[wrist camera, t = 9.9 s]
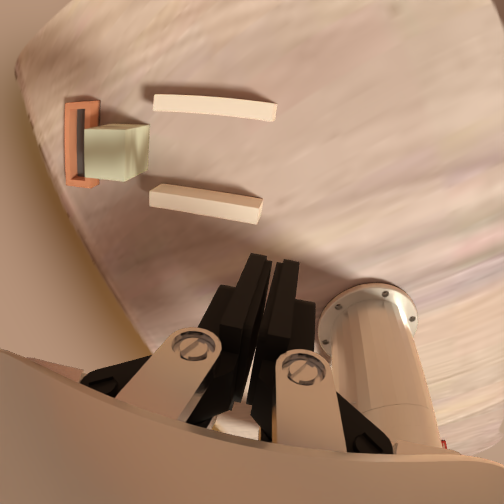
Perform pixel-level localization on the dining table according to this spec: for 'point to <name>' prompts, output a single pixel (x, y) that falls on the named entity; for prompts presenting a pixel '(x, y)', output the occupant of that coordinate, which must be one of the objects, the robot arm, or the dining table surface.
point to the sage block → (116, 151)
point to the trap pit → (79, 140)
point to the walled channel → (200, 198)
